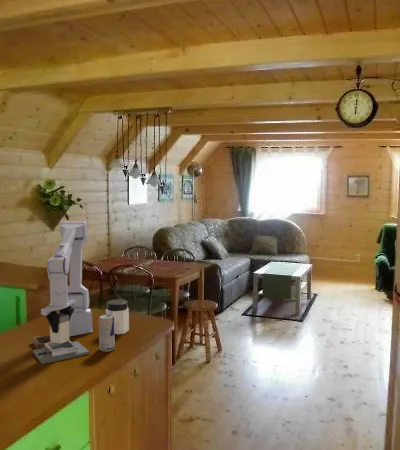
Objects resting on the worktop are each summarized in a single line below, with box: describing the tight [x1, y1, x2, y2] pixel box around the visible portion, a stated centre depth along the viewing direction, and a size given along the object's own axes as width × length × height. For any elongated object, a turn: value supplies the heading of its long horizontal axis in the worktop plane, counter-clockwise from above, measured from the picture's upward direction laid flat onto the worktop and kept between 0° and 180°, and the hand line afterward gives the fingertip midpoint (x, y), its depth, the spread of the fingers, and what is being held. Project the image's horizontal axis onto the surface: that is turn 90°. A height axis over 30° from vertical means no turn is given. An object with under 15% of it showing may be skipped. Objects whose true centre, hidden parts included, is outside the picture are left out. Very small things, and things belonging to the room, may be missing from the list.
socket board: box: [32, 340, 90, 365], centre depth 162 cm, size 16×12×3 cm
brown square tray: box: [31, 334, 51, 349], centre depth 170 cm, size 7×8×2 cm
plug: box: [49, 312, 71, 344], centre depth 161 cm, size 4×5×9 cm
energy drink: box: [98, 313, 116, 353], centre depth 165 cm, size 5×5×12 cm
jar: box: [105, 298, 130, 336], centre depth 184 cm, size 9×8×12 cm
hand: (60, 330), depth 161 cm, fingers closed on plug, 4 cm apart
